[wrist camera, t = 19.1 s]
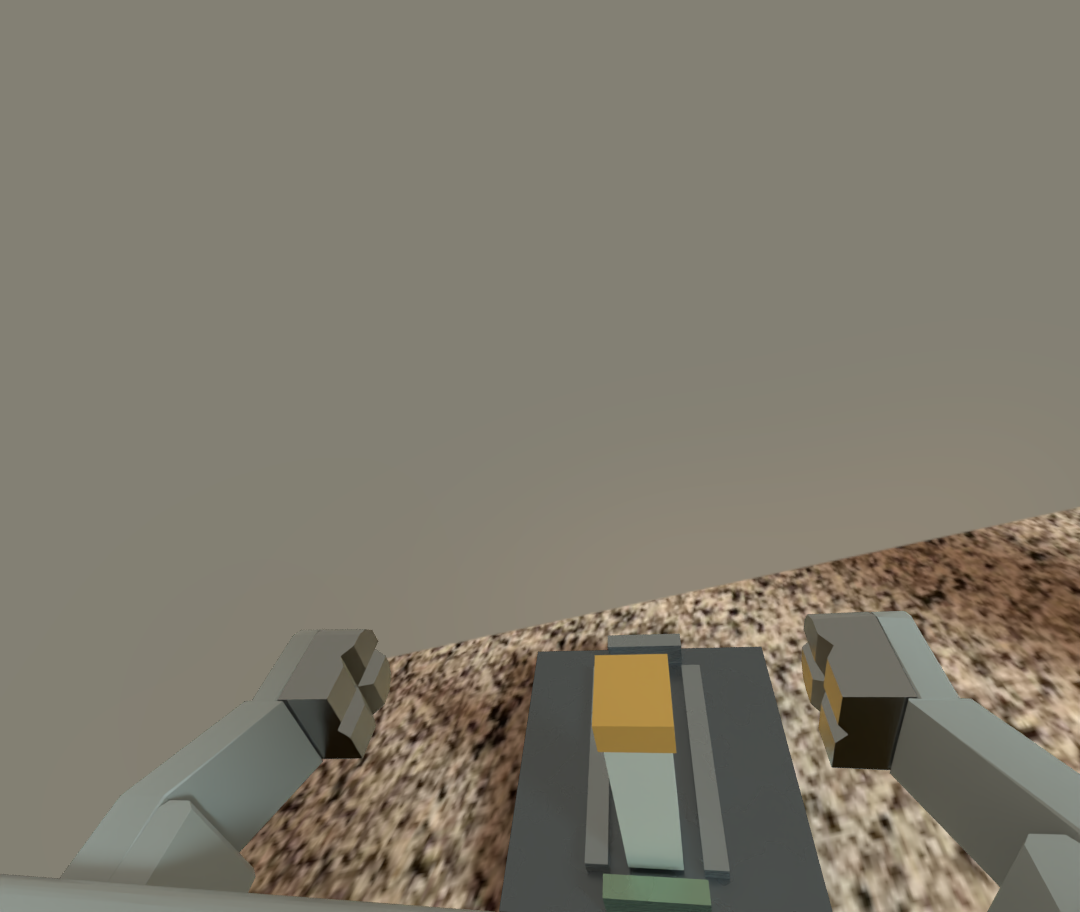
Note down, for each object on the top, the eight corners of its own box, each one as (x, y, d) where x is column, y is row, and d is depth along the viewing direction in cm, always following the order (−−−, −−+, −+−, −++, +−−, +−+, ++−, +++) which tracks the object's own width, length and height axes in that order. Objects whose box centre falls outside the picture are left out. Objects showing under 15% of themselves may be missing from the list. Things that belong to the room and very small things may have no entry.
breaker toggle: (681, 803, 30) (667, 653, 24) (688, 875, 27) (673, 726, 21) (623, 801, 31) (594, 655, 25) (624, 871, 28) (591, 726, 22)
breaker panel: (760, 674, 40) (761, 629, 37) (833, 961, 26) (843, 919, 24) (545, 677, 43) (533, 635, 40) (511, 935, 29) (491, 895, 27)
